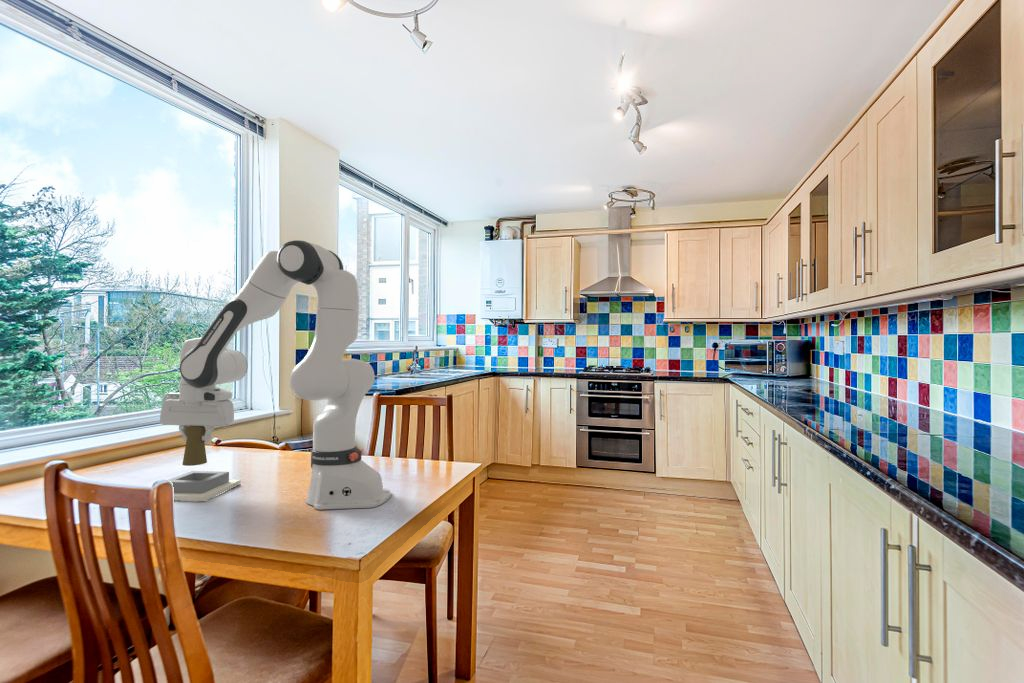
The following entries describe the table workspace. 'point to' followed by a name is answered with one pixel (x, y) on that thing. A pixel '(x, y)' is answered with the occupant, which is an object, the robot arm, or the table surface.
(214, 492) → the socket board
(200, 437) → the cork
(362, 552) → the table surface
